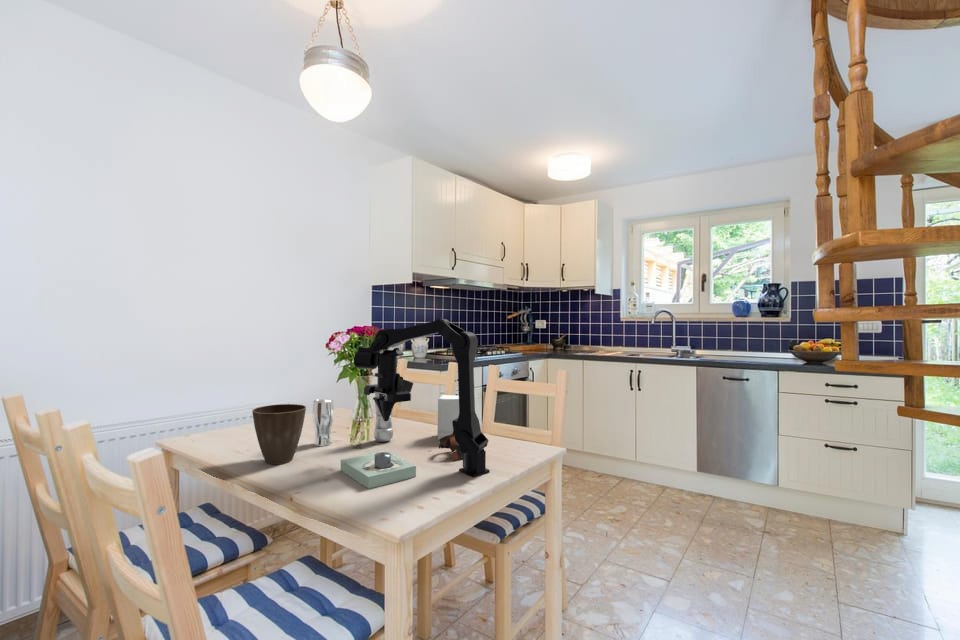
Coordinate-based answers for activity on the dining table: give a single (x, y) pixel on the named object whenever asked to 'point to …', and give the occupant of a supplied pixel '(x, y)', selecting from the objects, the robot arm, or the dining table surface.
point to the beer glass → (323, 421)
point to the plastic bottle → (382, 427)
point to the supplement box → (447, 414)
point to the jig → (377, 470)
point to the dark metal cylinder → (382, 460)
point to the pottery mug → (451, 446)
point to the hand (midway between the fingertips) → (386, 421)
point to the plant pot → (278, 431)
